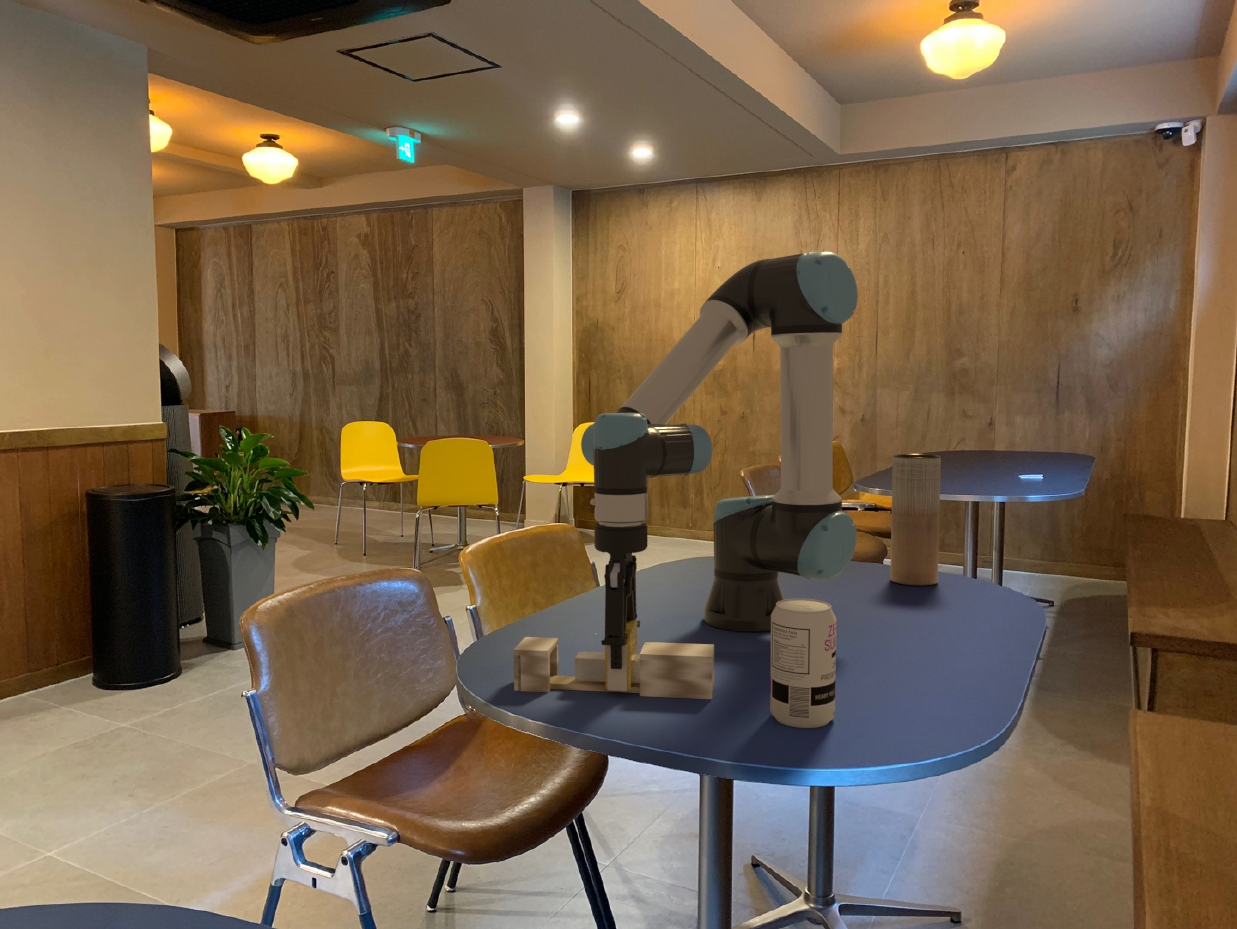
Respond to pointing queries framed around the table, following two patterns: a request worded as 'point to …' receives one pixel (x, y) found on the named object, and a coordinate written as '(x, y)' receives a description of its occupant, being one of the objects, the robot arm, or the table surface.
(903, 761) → the table surface
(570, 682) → the sleeve and socket
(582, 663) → the golden wooden block
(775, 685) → the supplement can
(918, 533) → the vase
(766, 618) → the robot arm
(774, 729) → the table surface
